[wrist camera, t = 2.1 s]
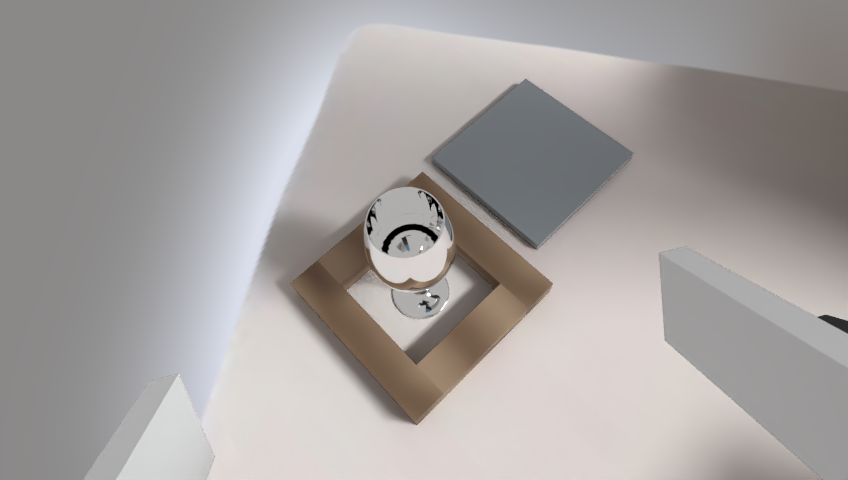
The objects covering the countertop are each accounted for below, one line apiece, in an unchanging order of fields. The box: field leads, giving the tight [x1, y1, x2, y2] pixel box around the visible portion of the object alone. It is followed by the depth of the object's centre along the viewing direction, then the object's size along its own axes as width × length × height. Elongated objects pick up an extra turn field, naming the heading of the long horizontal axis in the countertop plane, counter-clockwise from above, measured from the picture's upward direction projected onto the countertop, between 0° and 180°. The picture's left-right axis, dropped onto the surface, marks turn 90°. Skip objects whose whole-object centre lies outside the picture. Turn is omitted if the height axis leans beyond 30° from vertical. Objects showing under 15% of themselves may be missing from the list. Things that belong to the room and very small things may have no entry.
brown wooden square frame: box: [291, 172, 553, 425], centre depth 40 cm, size 14×14×2 cm
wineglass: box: [363, 187, 456, 319], centre depth 35 cm, size 6×6×12 cm
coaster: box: [432, 79, 633, 250], centre depth 45 cm, size 12×12×1 cm
